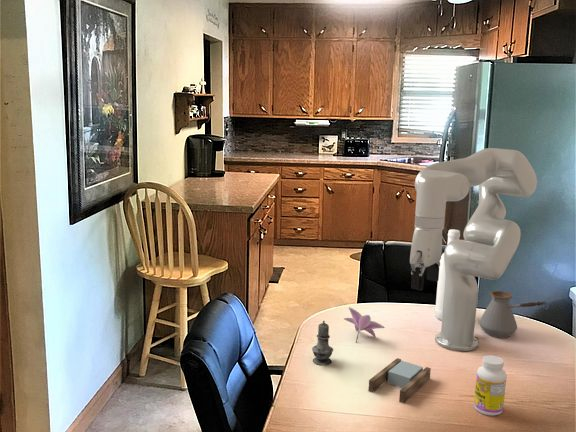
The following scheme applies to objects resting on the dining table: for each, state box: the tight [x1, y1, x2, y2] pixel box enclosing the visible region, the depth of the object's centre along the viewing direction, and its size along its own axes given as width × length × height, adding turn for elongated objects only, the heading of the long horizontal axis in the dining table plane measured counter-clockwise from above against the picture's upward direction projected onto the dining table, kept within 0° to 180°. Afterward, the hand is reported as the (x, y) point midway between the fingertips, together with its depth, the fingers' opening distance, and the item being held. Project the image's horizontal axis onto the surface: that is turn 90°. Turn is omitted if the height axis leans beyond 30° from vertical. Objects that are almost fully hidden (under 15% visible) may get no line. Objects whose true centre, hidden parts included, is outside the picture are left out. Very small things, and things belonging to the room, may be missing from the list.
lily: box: [343, 307, 386, 344], centre depth 182 cm, size 12×12×10 cm
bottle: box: [434, 228, 461, 322], centre depth 198 cm, size 8×8×30 cm
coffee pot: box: [478, 290, 549, 339], centre depth 184 cm, size 21×12×15 cm, turn 34°
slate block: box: [387, 360, 424, 389], centre depth 157 cm, size 8×6×4 cm
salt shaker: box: [311, 320, 334, 366], centre depth 166 cm, size 6×6×12 cm
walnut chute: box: [367, 358, 431, 404], centre depth 154 cm, size 16×10×3 cm, turn 144°
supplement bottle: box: [473, 355, 507, 416], centre depth 142 cm, size 7×7×13 cm
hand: (424, 284), depth 160 cm, fingers open, 9 cm apart
